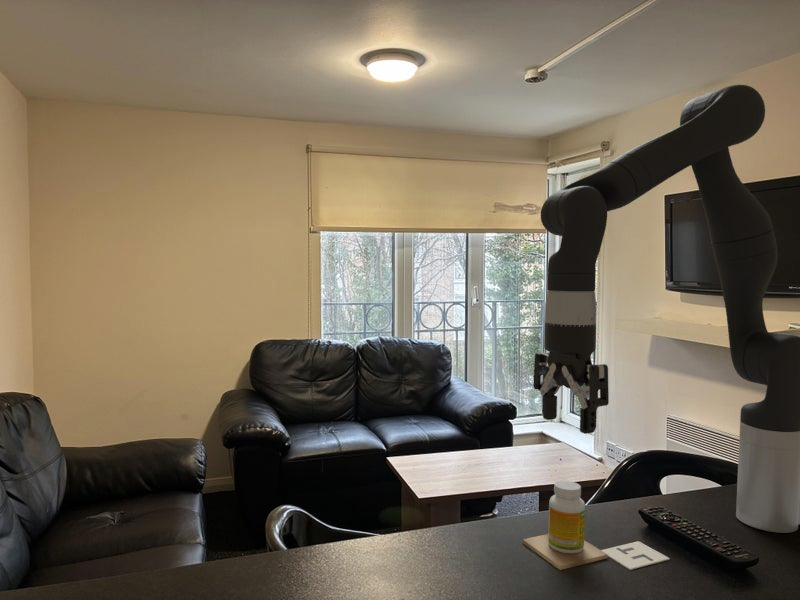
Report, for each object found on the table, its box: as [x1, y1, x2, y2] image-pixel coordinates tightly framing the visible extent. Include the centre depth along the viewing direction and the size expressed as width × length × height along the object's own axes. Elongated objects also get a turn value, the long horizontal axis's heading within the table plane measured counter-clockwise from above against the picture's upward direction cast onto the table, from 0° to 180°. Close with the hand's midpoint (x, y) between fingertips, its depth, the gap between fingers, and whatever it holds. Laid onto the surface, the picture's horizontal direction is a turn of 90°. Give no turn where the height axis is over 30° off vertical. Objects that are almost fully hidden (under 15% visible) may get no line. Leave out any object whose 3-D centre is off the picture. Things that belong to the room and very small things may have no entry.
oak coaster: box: [522, 533, 608, 571], centre depth 90 cm, size 9×9×1 cm
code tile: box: [600, 541, 670, 571], centre depth 89 cm, size 8×6×1 cm
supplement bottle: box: [547, 480, 586, 554], centre depth 90 cm, size 5×5×10 cm
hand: (567, 425), depth 89 cm, fingers open, 8 cm apart
